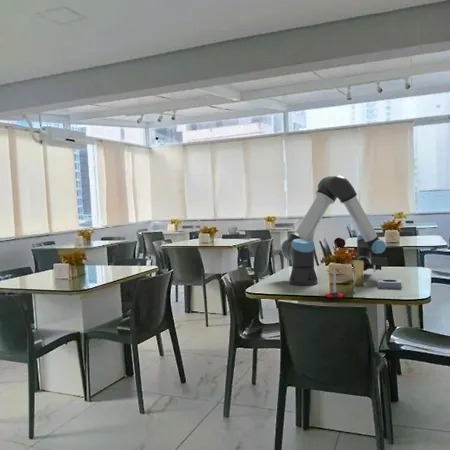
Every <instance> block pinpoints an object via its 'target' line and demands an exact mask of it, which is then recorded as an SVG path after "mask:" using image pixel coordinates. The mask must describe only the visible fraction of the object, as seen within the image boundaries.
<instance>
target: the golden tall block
mask: <svg viewBox="0 0 450 450" xmlns="http://www.w3.org/2000/svg"><path fill="white" fill-rule="evenodd" d="M352 263H353V268H352V270H353V272H352V273H353V287H355V288H363V287H364V286H365V285H364V284H365V282H364V281H365V280H364V279H365V278H364V274H365V273H364V272H365V271H364V265H363V260H358V259H355V260H353V262H352Z"/></svg>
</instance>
